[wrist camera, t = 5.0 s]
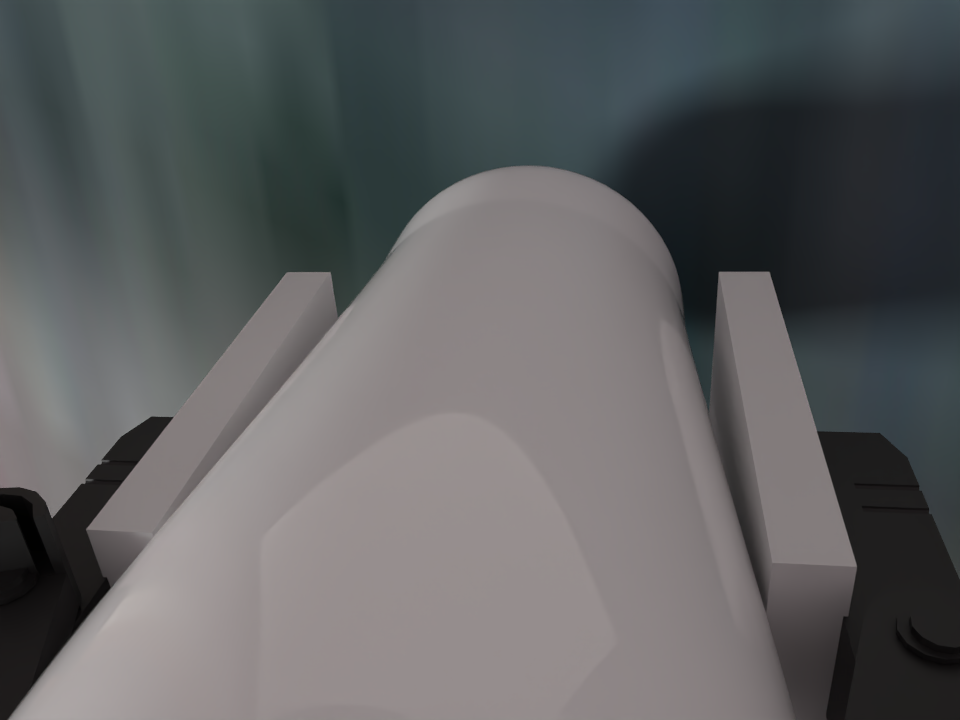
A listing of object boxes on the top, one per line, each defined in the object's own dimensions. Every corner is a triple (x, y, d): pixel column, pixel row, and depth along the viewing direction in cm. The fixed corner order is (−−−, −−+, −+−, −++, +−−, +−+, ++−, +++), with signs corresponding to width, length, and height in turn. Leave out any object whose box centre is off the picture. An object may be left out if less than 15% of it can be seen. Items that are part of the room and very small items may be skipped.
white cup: (353, 92, 15) (-1006, 1371, 3) (759, 133, 15) (1545, 2085, 2) (356, 420, 19) (-227, 1665, 6) (685, 466, 18) (801, 1961, 5)
